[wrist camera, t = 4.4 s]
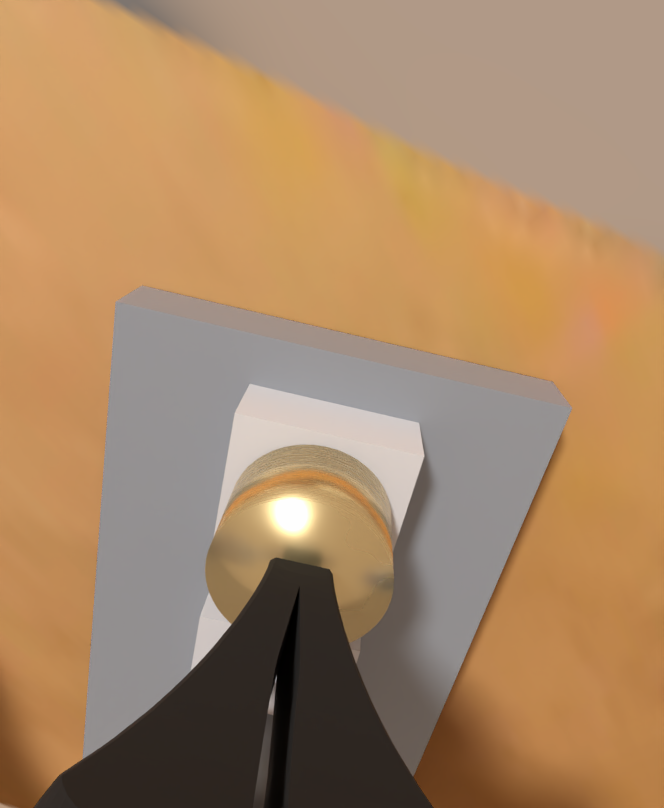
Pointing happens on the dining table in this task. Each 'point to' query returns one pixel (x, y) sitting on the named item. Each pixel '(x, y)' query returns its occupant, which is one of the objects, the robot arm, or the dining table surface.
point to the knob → (306, 532)
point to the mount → (286, 426)
